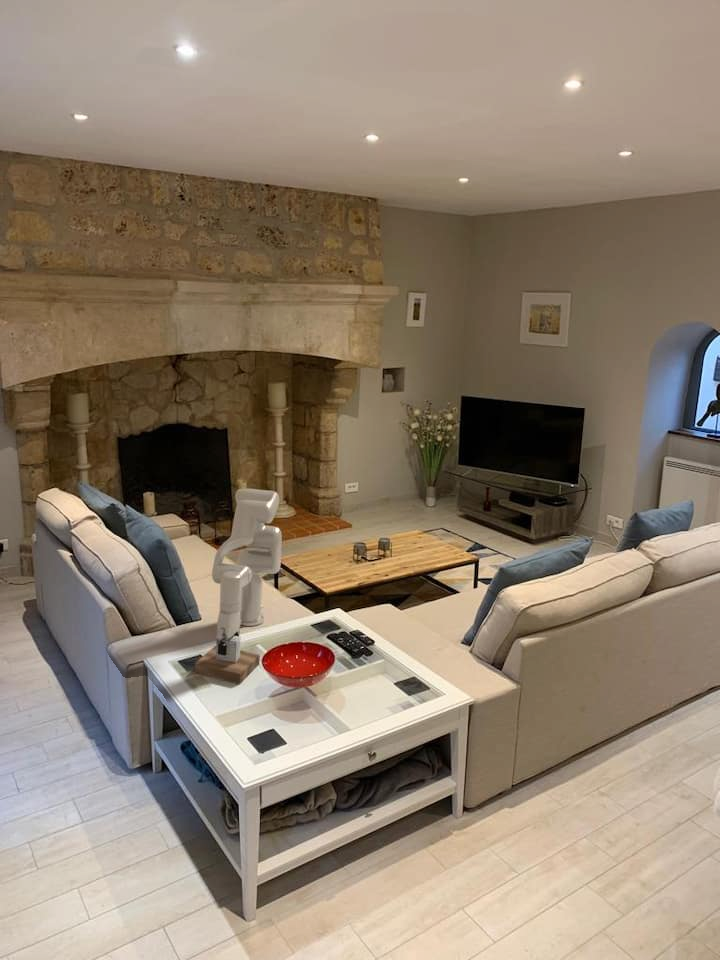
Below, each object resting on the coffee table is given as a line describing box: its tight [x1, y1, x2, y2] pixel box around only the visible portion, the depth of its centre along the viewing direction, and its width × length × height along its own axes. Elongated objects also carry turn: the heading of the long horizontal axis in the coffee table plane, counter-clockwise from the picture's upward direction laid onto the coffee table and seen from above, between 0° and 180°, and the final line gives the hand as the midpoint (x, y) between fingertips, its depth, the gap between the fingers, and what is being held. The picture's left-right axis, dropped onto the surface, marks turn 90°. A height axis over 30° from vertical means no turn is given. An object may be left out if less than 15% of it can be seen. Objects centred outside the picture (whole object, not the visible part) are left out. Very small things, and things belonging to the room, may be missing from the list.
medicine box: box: [215, 635, 241, 663], centre depth 265 cm, size 8×4×9 cm, turn 79°
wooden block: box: [194, 644, 260, 685], centre depth 266 cm, size 16×18×4 cm
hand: (228, 648), depth 265 cm, fingers open, 9 cm apart
